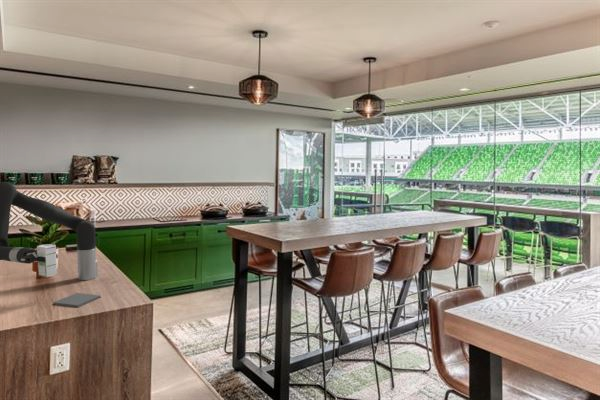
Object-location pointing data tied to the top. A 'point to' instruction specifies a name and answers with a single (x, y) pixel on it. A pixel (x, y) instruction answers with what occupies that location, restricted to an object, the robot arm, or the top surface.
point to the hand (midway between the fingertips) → (51, 257)
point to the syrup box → (47, 260)
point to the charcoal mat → (77, 300)
